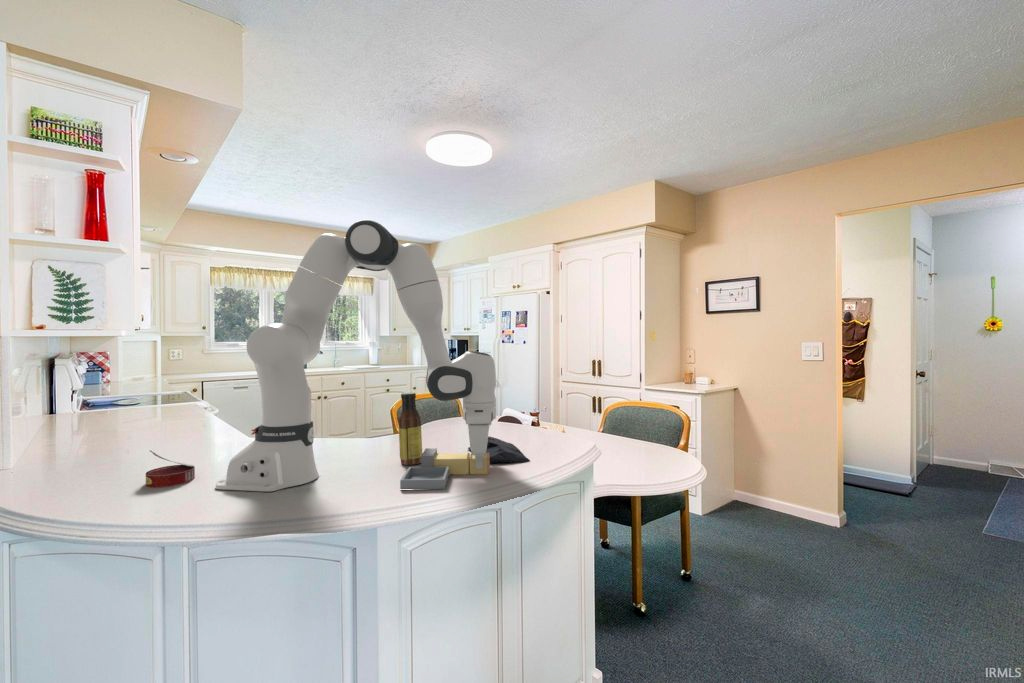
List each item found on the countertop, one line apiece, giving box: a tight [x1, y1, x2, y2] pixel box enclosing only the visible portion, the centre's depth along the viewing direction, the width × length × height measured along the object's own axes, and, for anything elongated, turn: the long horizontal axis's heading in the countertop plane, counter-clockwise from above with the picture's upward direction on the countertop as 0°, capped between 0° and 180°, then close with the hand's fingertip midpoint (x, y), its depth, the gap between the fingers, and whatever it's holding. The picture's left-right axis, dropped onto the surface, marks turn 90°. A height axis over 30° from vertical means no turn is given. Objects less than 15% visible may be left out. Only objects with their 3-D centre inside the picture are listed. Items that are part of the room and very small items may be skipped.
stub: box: [469, 453, 491, 475], centre depth 121 cm, size 5×6×4 cm
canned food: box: [145, 450, 196, 489], centre depth 114 cm, size 11×10×10 cm
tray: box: [399, 466, 450, 490], centre depth 111 cm, size 10×11×2 cm
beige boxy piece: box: [420, 447, 471, 475], centre depth 121 cm, size 12×8×5 cm, turn 92°
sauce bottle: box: [398, 392, 423, 466], centre depth 129 cm, size 7×6×20 cm
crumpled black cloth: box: [467, 435, 531, 464], centre depth 138 cm, size 15×22×5 cm
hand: (479, 464), depth 121 cm, fingers closed on stub, 6 cm apart
